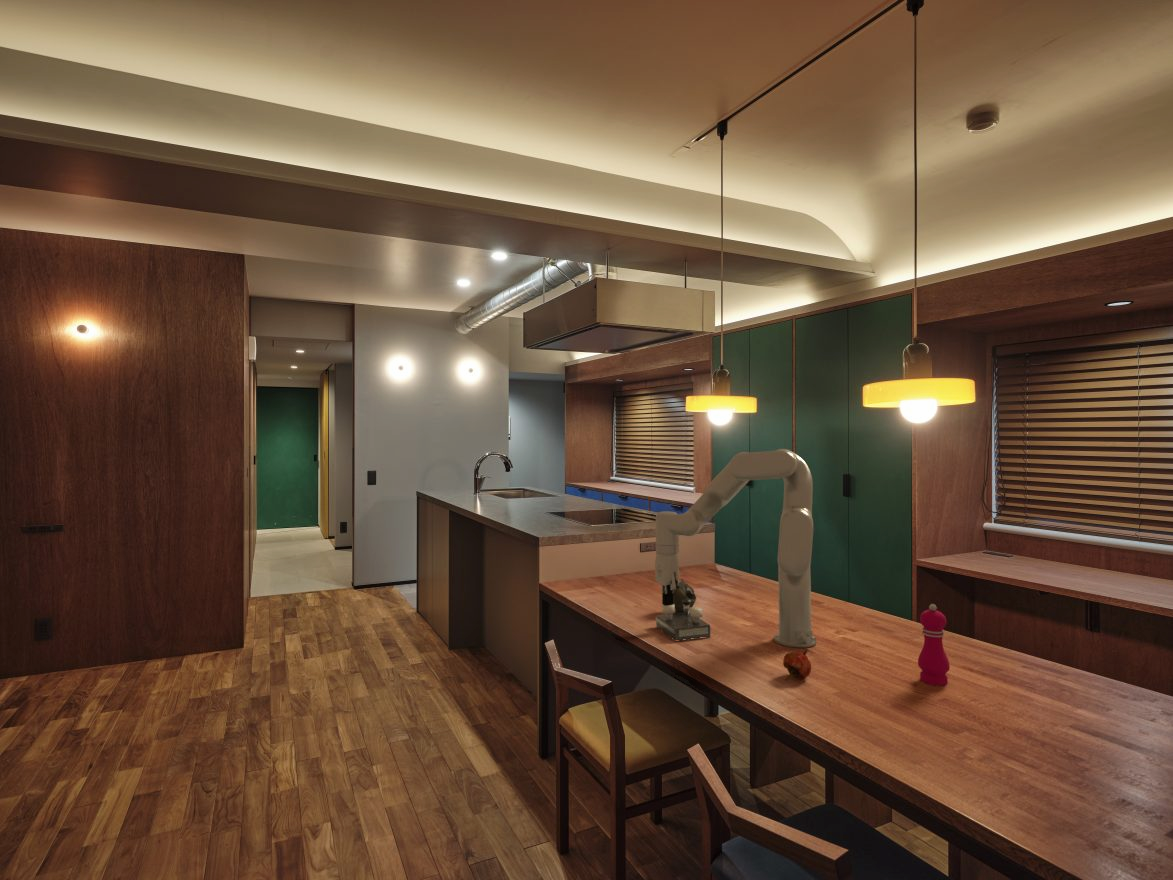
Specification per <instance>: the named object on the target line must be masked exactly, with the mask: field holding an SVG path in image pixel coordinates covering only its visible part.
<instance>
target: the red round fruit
mask: <svg viewBox="0 0 1173 880" xmlns="http://www.w3.org/2000/svg"><path fill="white" fill-rule="evenodd" d="M782 665H783V667H784V668H785V669H787V672H788V673H789V674H788V675H787V677H786V678H785V681H787V680H788V679H789V678H790V677H791V676H793V677H796V678H799V679H801V680H804V679H806V678H808V676H810V674H811V672H812V663H811V661H810V659H809V658H808V656H807V651H806V650H805V651H804V652H801V651H796V650H795V651H789V652H787V653H786V654H785V655H784V657H783V661H782Z"/></svg>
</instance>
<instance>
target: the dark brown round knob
mask: <svg viewBox="0 0 1173 880" xmlns="http://www.w3.org/2000/svg"><path fill="white" fill-rule="evenodd" d="M682 604H683V605H684V614H690V609H689V604H691V600H690V599H683V600H682Z"/></svg>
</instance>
